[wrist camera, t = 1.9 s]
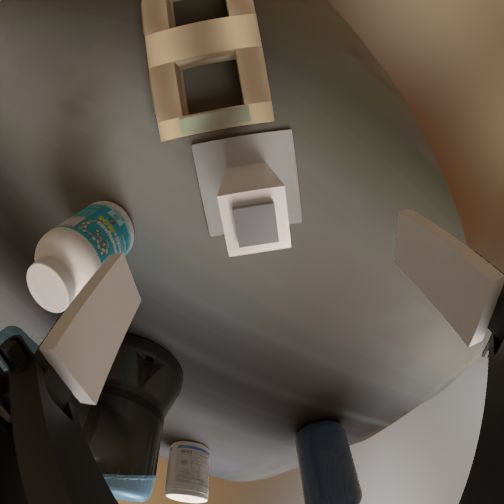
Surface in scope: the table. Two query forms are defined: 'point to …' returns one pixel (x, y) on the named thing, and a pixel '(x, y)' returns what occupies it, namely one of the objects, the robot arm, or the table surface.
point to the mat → (244, 153)
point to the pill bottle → (77, 253)
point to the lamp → (327, 464)
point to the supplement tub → (188, 472)
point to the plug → (253, 210)
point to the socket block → (198, 54)
